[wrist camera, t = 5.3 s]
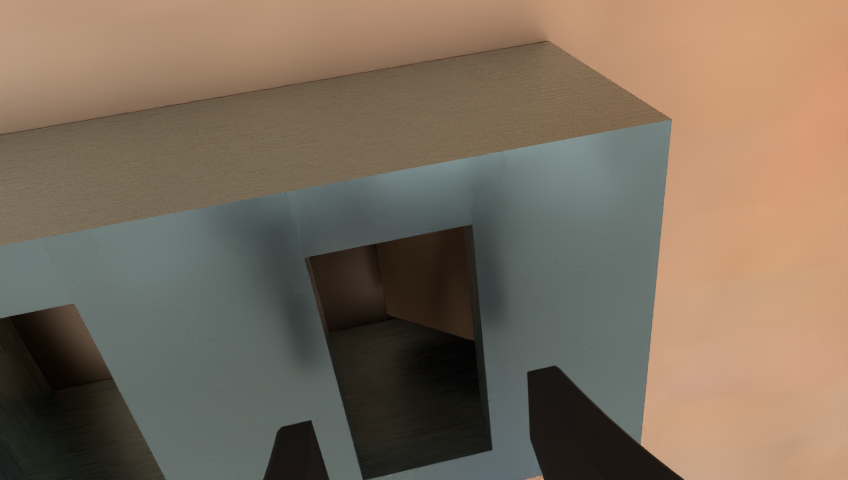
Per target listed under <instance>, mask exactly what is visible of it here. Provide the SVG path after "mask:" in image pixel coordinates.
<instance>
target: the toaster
mask: <svg viewBox="0 0 848 480" xmlns="http://www.w3.org/2000/svg"><path fill="white" fill-rule="evenodd" d="M671 122H672V119H670V118H669V117H667V116H666V115H664V114H663V113H661V112H659V111H658V110H656V109H655V108H653V107H651V106H650V105H648V104H647V103H645V102H644V101H642V100H640V99H639V98H637V97H636V96H634V95H633V94H631V93H629V92H628V91H626V90H625V89H623V88H622V87H620V86H618V85H617V84H615V83H614V82H612V81H611V80H609V79H607V78H606V77H604V76H603V75H601V74H600V73H598V72H596V71H595V70H593V69H592V68H590V67H589V66H587V65H585V64H584V63H582V62H581V61H579V60H577V59H576V58H574V57H573V56H571V55H570V54H568V53H566V52H565V51H563V50H562V49H560V48H559V47H557V46H555V45H554V44H552V43H551V42H549V41H546V42H541V43H535V44H529V45H523V46H517V47H512V48H506V49H500V50H494V51H488V52H482V53H477V54H471V55H465V56H459V57H453V58H447V59H442V60H436V61H430V62H424V63H418V64H412V65H407V66H401V67H395V68H389V69H383V70H378V71H372V72H366V73H360V74H354V75H348V76H343V77H337V78H331V79H325V80H319V81H313V82H308V83H302V84H296V85H290V86H284V87H278V88H273V89H267V90H261V91H255V92H249V93H244V94H238V95H232V96H226V97H220V98H214V99H209V100H203V101H197V102H191V103H185V104H179V105H174V106H168V107H162V108H156V109H150V110H144V111H139V112H133V113H127V114H121V115H115V116H110V117H104V118H98V119H92V120H86V121H80V122H75V123H69V124H63V125H57V126H51V127H45V128H40V129H34V130H28V131H22V132H16V133H10V134H5V135H0V480H263V478H264V475H265V472H266V469H267V466H268V463H269V459H270V456H271V453H272V449H273V445H274V442H275V438H276V433H277V431H278V430H279V429H280V428H281V427H282V426H287V425H291V424H296V423H300V422H305V421H309V420H311V421H312V424H313V427H314V431H315V434H316V437H317V440H318V444H319V447H320V450H321V453H322V457H323V460H324V463H325V466H326V470H327V473H328V476H329V479H330V480H524V479H528V478H532V477H536V476H540V475H542V472H541V469H540V467H539V464H538V461H537V458H536V455H535V452H534V449H533V446H532V443H531V441H530V430H529V406H528V382H527V372H528V371H532V370H537V369H541V368H546V367H550V366H554V365H555V366H557V367H559V368H560V369H561V370H562V371H563V372H564V373H565V374H566V375H567V376H568V377H569V378H570V379H571V380H572V382H573V383H574V384H575V385H576V386H577V387H578V388H579V389H580V390H581V391H582V392H583V393H584V394H585V395H586V396H587V397H588V398H589V399H590V400H592V401H593V402H594V403H595V404H596V405H597V406H598V407H599V408H600V409H601V410H602V411H603V412H604V413H605V414H606V415H607V416H608V417H609V418H611V419H612V420H613V421H614V422H615V423H616V424H617V425H618V426H619V427H621V428H622V429H623V430H624V431H625V432H626V433H627V434H629V435H630V436H631V437H632V438H633V439H634V440H635V441H636V442H638V443H639V444H641V434H642V423H643V413H644V402H645V392H646V382H647V371H648V361H649V351H650V340H651V330H652V319H653V309H654V299H655V288H656V278H657V268H658V257H659V247H660V236H661V226H662V216H663V205H664V195H665V185H666V174H667V164H668V153H669V143H670V133H671ZM461 226H464V236H465V246H466V257H467V267H468V277H469V287H470V297H471V307H472V317H473V328H474V338H475V341H473V340H469V339H466V338H463V337H460V336H456V335H453V334H450V333H446V332H443V331H440V330H436V329H433V328H430V327H427V326H423V325H420V324H417V323H413V322H410V321H407V320H403V319H400V318H396V319H391V320H387V321H382V322H377V323H373V324H368V325H363V326H358V327H354V328H349V329H344V330H339V331H335V332H330V333H329V331H328V327H327V323H326V319H325V315H324V312H323V308H322V304H321V300H320V296H319V292H318V288H317V284H316V281H315V277H314V273H313V269H312V265H311V261H310V256H315V255H321V254H326V253H331V252H336V251H341V250H346V249H351V248H356V247H361V246H366V245H371V244H376V243H381V242H386V241H391V240H396V239H401V238H406V237H411V236H416V235H421V234H426V233H431V232H436V231H441V230H446V229H451V228H456V227H461ZM69 304H75V306H76V308H77V310H78V312H79V314H80V316H81V318H82V320H83V322H84V324H85V326H86V327H87V329H88V331H89V333H90V335H91V337H92V339H93V341H94V343H95V345H96V347H97V348H98V350H99V352H100V354H101V356H102V358H103V360H104V362H105V364H106V366H107V368H108V370H109V371H110V373H111V375H112V377H113V378H112V379H107V380H103V381H98V382H93V383H88V384H84V385H79V386H74V387H70V388H65V389H60V390H55V391H52V389H51V387H50V386H49V384H48V382H47V381H46V379H45V377H44V376H43V374H42V372H41V371H40V369H39V367H38V366H37V364H36V362H35V361H34V359H33V357H32V356H31V354H30V352H29V351H28V349H27V347H26V346H25V344H24V342H23V341H22V339H21V337H20V336H19V334H18V332H17V331H16V329H15V327H14V326H13V324H12V322H11V321H10V319H9V316H14V315H19V314H24V313H29V312H34V311H39V310H44V309H49V308H54V307H59V306H64V305H69Z"/></svg>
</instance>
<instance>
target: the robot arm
mask: <svg viewBox="0 0 848 480" xmlns="http://www.w3.org/2000/svg"><path fill="white" fill-rule="evenodd" d="M527 382H528V406H529V430H530V441H531V443H532V446H533V449H534V452H535V455H536V458H537V461H538V464H539V467H540V469H541V472H542V475H543V478H544V480H684V479H683V478H681V477H680V476H679V475H677V474H676V473H675V472H673V471H672V470H671V469H670V468H668V467H667V466H666V465H665V464H663V463H662V462H661V461H660V460H658V459H657V458H656V457H654V456H653V455H652V454H651V453H650V452H648V451H647V450H646V449H645V448H644V447H642V446H641V445H640V444H639V443H638V442H636V441H635V440H634V439H633V438H632V437H631V436H630V435H629V434H627V433H626V432H625V431H624V430H623V429H622V428H621V427H619V426H618V425H617V424H616V423H615V422H614V421H613V420H612V419H611V418H609V417H608V416H607V415H606V414H605V413H604V412H603V411H602V410H601V409H600V408H599V407H598V406H597V405H596V404H595V403H594V402H593V401H592V400H590V399H589V398H588V397H587V396H586V395H585V394H584V393H583V392H582V391H581V390H580V389H579V388H578V387H577V386H576V385H575V384H574V383H573V382H572V380H571V379H570V378H569V377H568V376H567V375H566V374H565V373H564V372H563V371H562V370H561V369H560V368H559V367H557V366H555V365H554V366H550V367H546V368H541V369H537V370H532V371H528V372H527ZM263 480H330V479H329V476H328V473H327V470H326V466H325V463H324V460H323V457H322V453H321V450H320V447H319V444H318V440H317V437H316V434H315V431H314V427H313V424H312V421H311V420H309V421H305V422H300V423H296V424H291V425H287V426H282V427H281V428H280V429H279V430H278V431H277V433H276V438H275V442H274V445H273V449H272V453H271V456H270V459H269V463H268V466H267V469H266V472H265V475H264V478H263Z"/></svg>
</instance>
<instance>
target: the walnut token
mask: <svg viewBox="0 0 848 480" xmlns="http://www.w3.org/2000/svg"><path fill="white" fill-rule="evenodd" d="M376 246H377V252H378V259H379V266H380V272H381V279H382V285H383V292H384V298H385V305H386V312H387V315H390V316H394V317H397V318H400V319H403V320H407V321H410V322H413V323H417V324H420V325H423V326H427V327H430V328H433V329H436V330H440V331H443V332H446V333H450V334H453V335H456V336H460V337H463V338H466V339H469V340H473V341H475V338H474V328H473V317H472V307H471V297H470V287H469V277H468V267H467V257H466V246H465V236H464V226H461V227H456V228H451V229H446V230H441V231H436V232H431V233H426V234H421V235H416V236H411V237H406V238H401V239H396V240H391V241H386V242H381V243H376Z"/></svg>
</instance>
